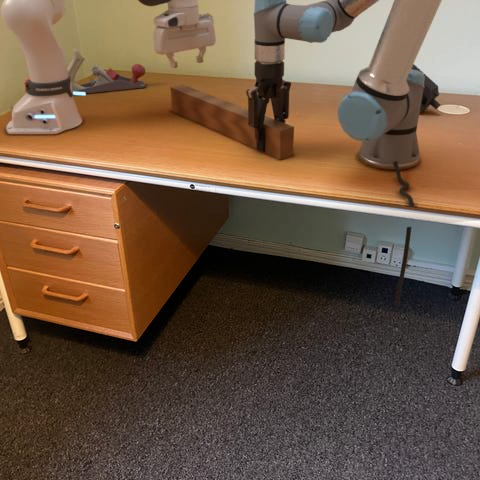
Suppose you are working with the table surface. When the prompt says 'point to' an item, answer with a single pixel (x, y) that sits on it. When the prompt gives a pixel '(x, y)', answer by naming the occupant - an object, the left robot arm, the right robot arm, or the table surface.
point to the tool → (428, 92)
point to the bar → (231, 120)
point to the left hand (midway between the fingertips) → (187, 64)
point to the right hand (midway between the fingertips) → (268, 147)
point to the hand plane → (104, 77)
